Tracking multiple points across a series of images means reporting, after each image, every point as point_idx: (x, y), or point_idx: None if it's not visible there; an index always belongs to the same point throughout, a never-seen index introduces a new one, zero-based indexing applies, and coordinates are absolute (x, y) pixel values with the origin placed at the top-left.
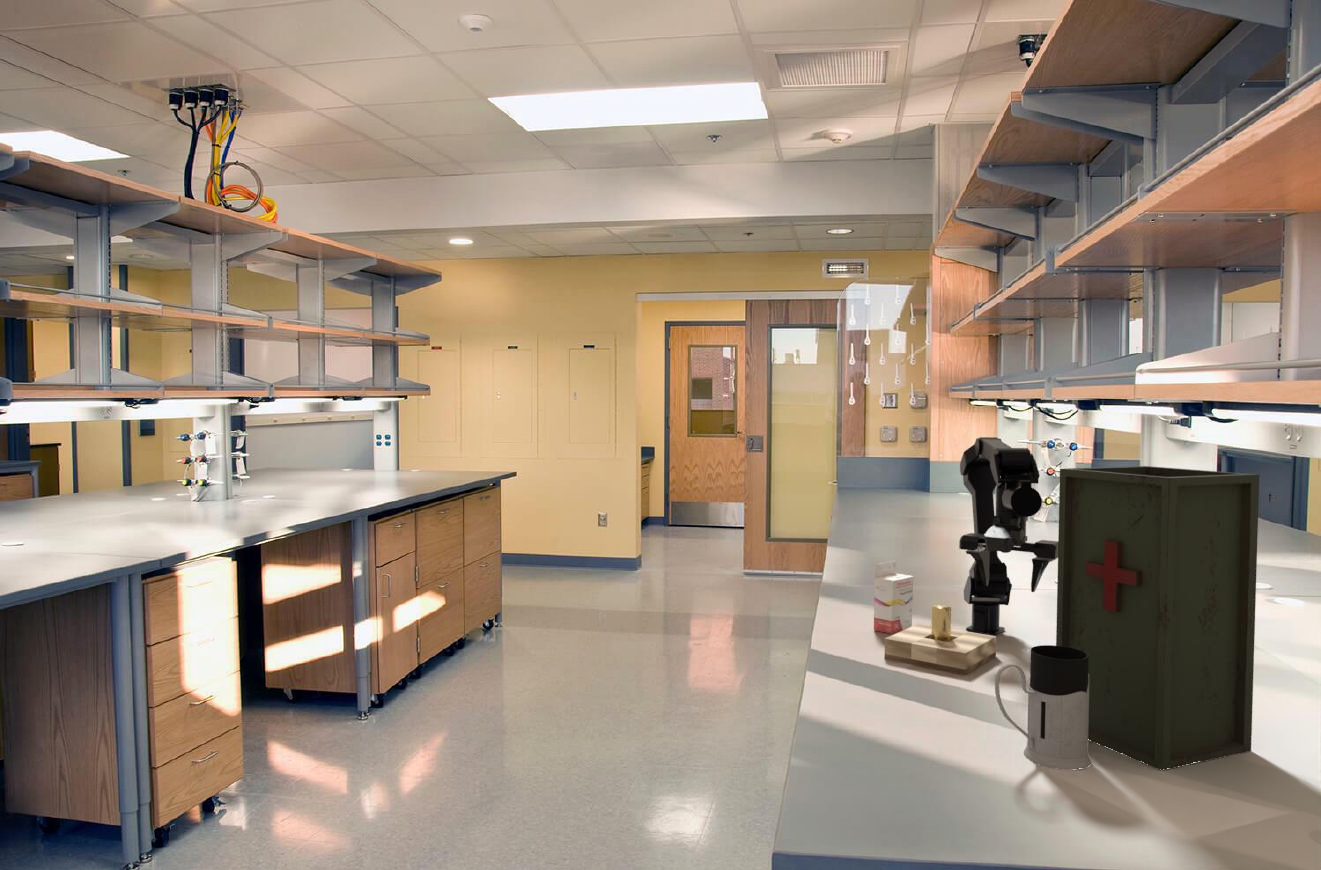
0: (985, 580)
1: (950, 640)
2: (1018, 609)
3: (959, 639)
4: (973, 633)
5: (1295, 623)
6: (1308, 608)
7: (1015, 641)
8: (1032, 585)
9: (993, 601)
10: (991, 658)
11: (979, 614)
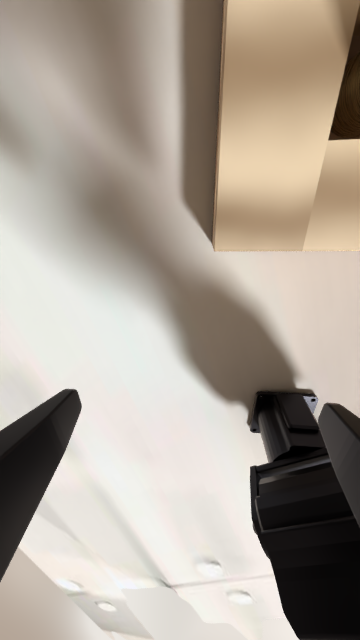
0: (352, 426)
1: (352, 88)
2: None
3: (318, 98)
4: (284, 238)
5: (27, 547)
6: (48, 576)
7: (213, 377)
8: (43, 412)
9: (284, 467)
10: (213, 209)
11: (303, 421)
